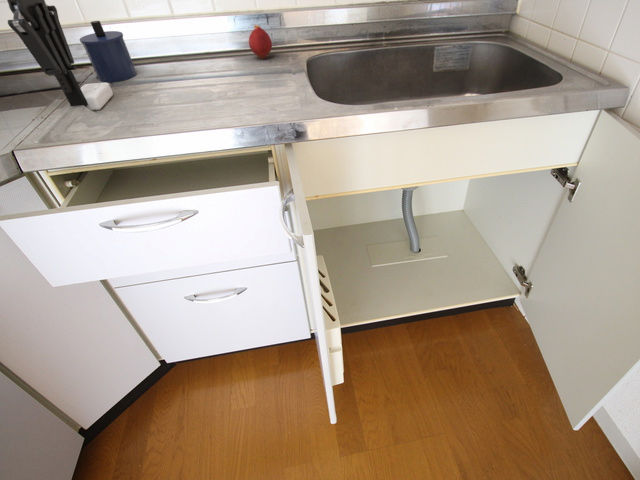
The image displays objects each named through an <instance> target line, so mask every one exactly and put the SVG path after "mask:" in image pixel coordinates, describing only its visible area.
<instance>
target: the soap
mask: <svg viewBox="0 0 640 480" xmlns="http://www.w3.org/2000/svg"><path fill="white" fill-rule="evenodd" d="M80 89H81V91H82V93H83V95H84V97H85V99H86V101H87V103H88V105H87V106H86V107H85V108H87V109H88V110H90V111H99V110H101V109H102V108H103V107H104V106H105V105H106V104H107V103H108V102H109V100H110V99H111V98H112V97H113V95H114V92H113V90H112V87H111V85H110V83H109V82H94V83H84V84H83V85H82V86H81V87H80Z"/></svg>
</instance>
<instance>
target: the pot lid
mask: <svg viewBox="0 0 640 480" xmlns="http://www.w3.org/2000/svg"><path fill="white" fill-rule="evenodd" d="M90 25H91V27H92V29H93V33H90V34H89V33H88V34H86V35H83V36H81V37H80V38H79V42H80V43H81V44H82V43H83V44H100V43H106V42H111V41H115V40H118V39H120V38H122V37H123V38H124V34H123V32H122V31H119V30H117V31H116V30H108V31H105V30H104V28H103V25H102V23H101V21H100V20H93V21H90ZM83 44H82V45H83Z"/></svg>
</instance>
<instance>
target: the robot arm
mask: <svg viewBox="0 0 640 480" xmlns="http://www.w3.org/2000/svg"><path fill="white" fill-rule="evenodd" d="M6 1H7V4H8V8H9V10H10V11H11V13H12V14H13V17H12V19H8V20H7V24H8V26H9V27H10V28H11V30H12V31H13V32H14V33H16V35H18V37H19V39H20V40H21V41H22V43H23V44H24V46H25V47H26V49H28V51H29V52H30V54H31V56H32V57H33V58H34V60H35V61H36V64H38V65H39V67H40V69H42V71H43V72H44V74H45V75H47V76H50V77H51V76H54V77H55V79H56V80H57V83H58V84H59V86H60V88H61V90H62V92H63V94H64V96H65V98H66V99H67V102H68V103H69V105H70V107H78V106H79V107H80V106H83V107H85V108H87V107H86V106H87V105H88V103H87V101H86V99H85V97H84V95H83V93H82V91H81V89H80V88H81V87H80V85H79V83H78V81H77V79H76V77H75V75H74V72H73V71H76V70H77V65H74V64H75V60H74V57H73V54H72V52H71V49H70V46H69V44H68V43H69V42H68V41H67V37H66V36H65V33H64V30H63V27H62V25H61V22H60V19H59V14H58V9H57V7H56V6H55V5H53V4H52V5H49V4H47V3H46V0H6Z"/></svg>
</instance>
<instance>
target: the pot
mask: <svg viewBox="0 0 640 480" xmlns="http://www.w3.org/2000/svg"><path fill="white" fill-rule="evenodd" d="M81 44H82V47H83V49H84V50H85V53H86V55H87V57H88V59H89V61H90V63H91V66H92V68H93V70H94V72H95V74H96V77H97V78H98V80H99V82H101V83H118V82H123V81H127V80H130V79H132V78H134V77H135V76H137V70H136V67H135V64H134V62H133V59H132V57H131V55H130V52H129V50H128V47H127V44H126V42H125V39H124V36H123V37H122V38H120V39H118V40H115V41H111V42H106V43H100V44H83V43H81Z"/></svg>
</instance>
